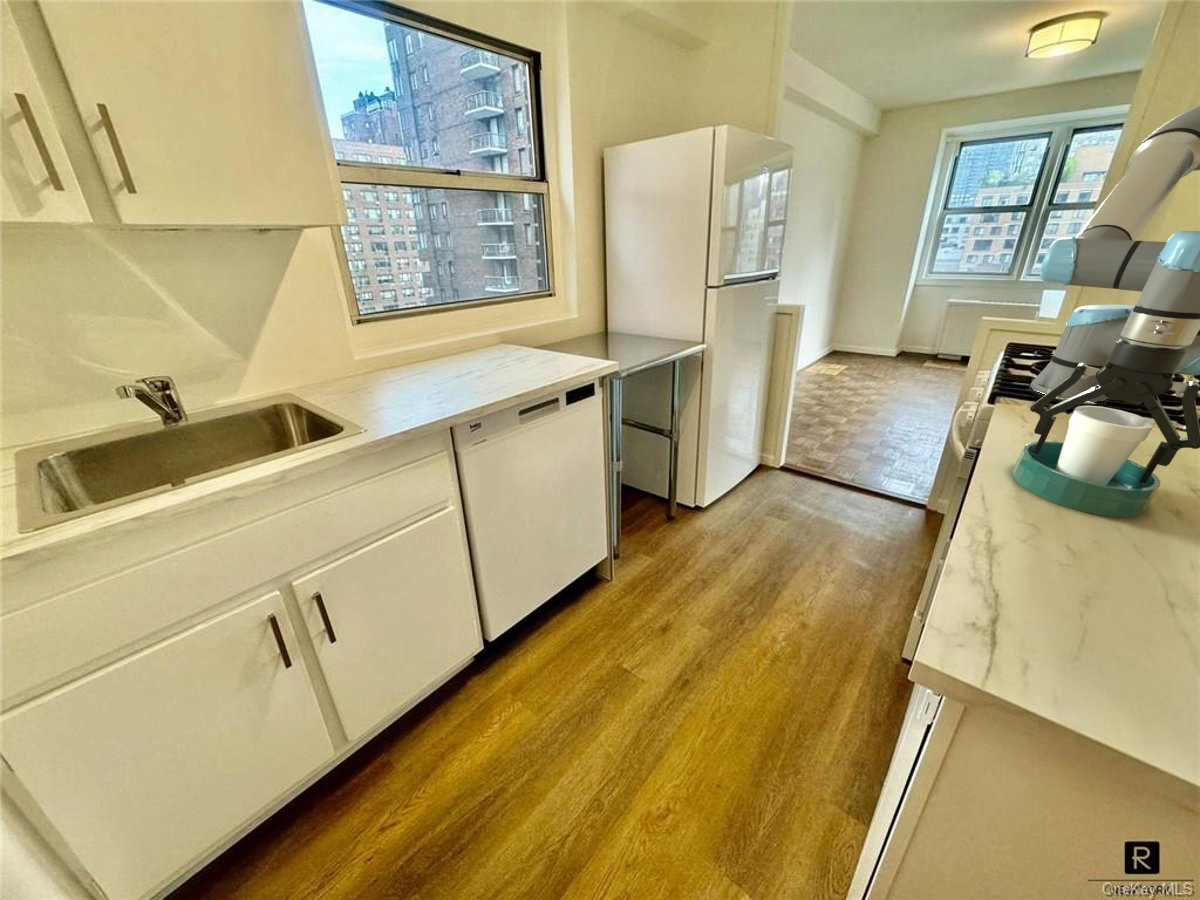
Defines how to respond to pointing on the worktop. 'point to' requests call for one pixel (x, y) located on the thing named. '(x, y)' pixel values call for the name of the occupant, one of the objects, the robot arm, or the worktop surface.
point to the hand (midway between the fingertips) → (1086, 465)
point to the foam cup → (1100, 442)
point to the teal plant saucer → (1084, 484)
